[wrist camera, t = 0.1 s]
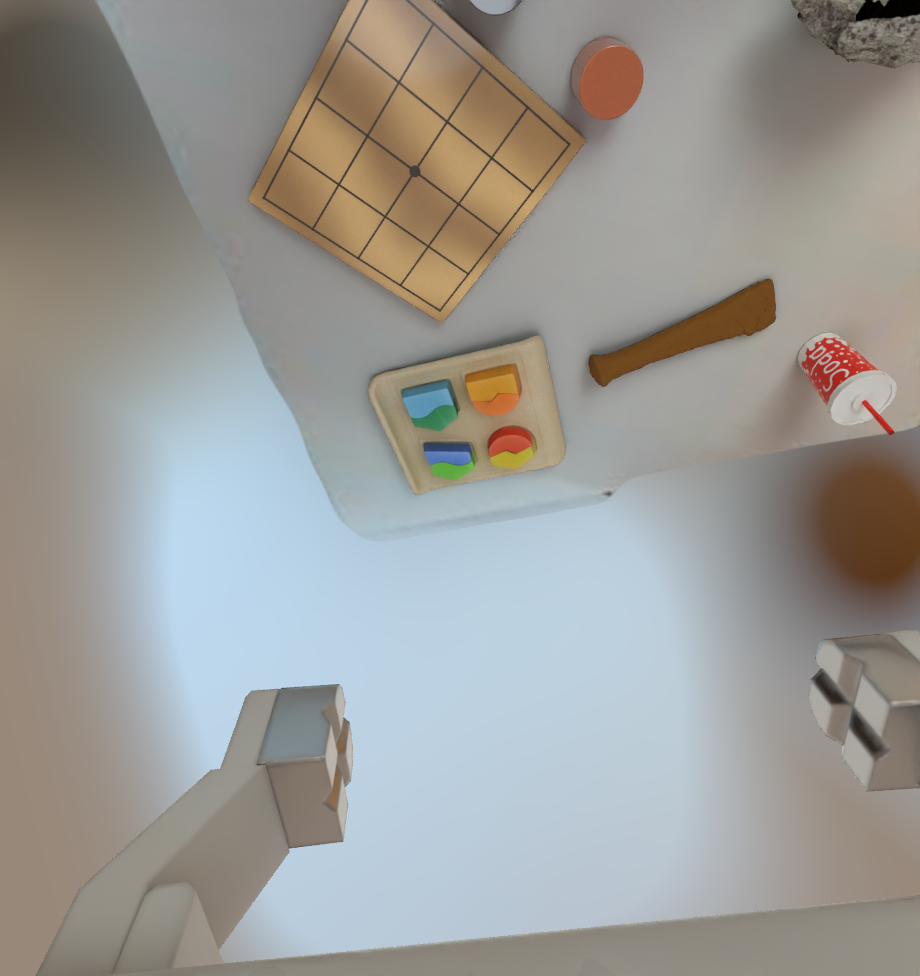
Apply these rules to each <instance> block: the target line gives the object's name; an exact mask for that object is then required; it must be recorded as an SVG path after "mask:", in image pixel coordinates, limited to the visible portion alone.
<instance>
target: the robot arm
mask: <svg viewBox="0 0 920 976" xmlns="http://www.w3.org/2000/svg"><path fill="white" fill-rule="evenodd" d="M815 659H816V660H817V662H818V663H819V664H820V666H821V667H822V668H821V669H820V670H819V671H818V673H817V674H816V675H815V676H814V677H813V678H812V679H811V682H810V689H809V700H810V705H811V711H812V713H813V715H814V718H815V720H816V722H817V724H818V725H819V727H820V728H821V730H822V731H823V732H824V734H825V735H826V736H827V737H829V738H831V739H833V740H834V741H836V742H838V743H839V744H841V745H843V750H842V758H843V760H844V761H845V762H846V764H847V765H848V767H849V768H850V769H851V771H852V772H853V773H854V774H855V776H856V777H857V779H858V780H859V782H860V783H861V784H862V786H863V787H864V788H865V789H866V791H882V790H895V789H911V788H920V632H917V631H915V630H906V631H897V632H888V633H882V634H873V635H863V636H853V637H843V638H834V639H824V640H822V642H821V643H820V644H819V646H818V648H817V653H816V657H815ZM344 709H345V698H344V693H343V689H342V686H341V685H339V684H335V685H320V686H307V687H306V686H305V687H292V688H291V687H290V688H281V689H270V690H257V691H251V692H250V693H249V694H248V695H247V696H246V698H245V701H244V703H243V706H242V709H241V712H240V715H239V717H238V720H237V723H236V726H235V729H234V731H233V734H232V737H231V740H230V743H229V746H228V749H227V751H226V754H225V757H224V760H223V762H222V765H221V768H220V769H215V770H210V771H209V772H208V773H207V774H206V775H205V776H204V777H203V778H202V779H200V780H199V781H198V782H197V783H196V784H195V785H194V786H193V787H192V788H190V789H189V790H188V791H187V792H186V793H185V794H184V795H183V796H182V797H180V798H179V799H178V800H177V801H176V802H175V803H174V804H173V805H172V806H170V807H169V808H168V809H167V810H166V811H165V812H164V813H163V814H162V815H161V816H159V817H158V818H157V819H156V820H155V821H154V822H153V823H152V824H150V825H149V826H148V827H147V828H146V829H145V830H144V831H143V832H142V833H140V835H138V836H137V837H136V838H135V839H134V840H133V841H132V842H131V843H130V844H128V845H127V846H126V847H125V848H124V849H123V850H122V851H121V852H120V853H118V854H117V855H116V856H115V857H114V858H113V859H112V860H111V861H110V862H108V863H107V864H106V865H105V866H104V867H103V868H102V869H101V870H100V871H98V872H97V873H96V874H95V875H94V876H93V877H92V878H91V879H89V880H88V881H87V882H86V883H85V884H84V885H83V886H82V887H81V888H79V890H78V892H77V894H76V896H75V898H74V900H73V902H72V904H71V906H70V908H69V910H68V912H67V914H66V916H65V918H64V920H63V922H62V924H61V926H60V928H59V930H58V932H57V934H56V936H55V938H54V940H53V942H52V944H51V946H50V948H49V950H48V952H47V954H46V956H45V958H44V960H43V962H42V964H41V966H40V968H39V970H38V972H37V974H36V976H920V895H916V896H907V897H896V898H886V899H876V900H866V901H856V902H846V903H836V904H826V905H816V906H806V907H796V908H786V909H776V910H765V911H756V912H745V913H735V914H725V915H714V916H704V917H693V918H684V919H673V920H663V921H653V922H643V923H633V924H622V925H612V926H602V927H591V928H581V929H570V930H560V931H550V932H540V933H530V934H520V935H509V936H499V937H489V938H479V939H469V940H458V941H449V942H438V943H428V944H418V945H408V946H397V947H387V948H377V949H367V950H357V951H347V952H337V953H326V954H316V955H306V956H297V957H286V958H276V959H265V960H255V961H245V962H235V963H223V960H222V958H221V955H220V953H219V949H220V948H221V946H222V945H223V944H224V942H225V941H226V939H227V938H228V937H229V935H230V934H231V932H232V931H233V930H234V928H235V927H236V925H237V924H238V923H239V921H240V920H241V919H242V917H243V916H244V914H245V913H246V912H247V910H248V909H249V907H250V906H251V905H252V903H253V902H254V901H255V899H256V898H257V896H258V895H259V894H260V892H261V891H262V889H263V888H264V887H265V885H266V884H267V882H268V881H269V880H270V878H271V877H272V876H273V874H274V873H275V871H276V870H277V869H278V867H279V866H280V864H281V863H282V861H283V860H284V859H285V857H286V856H287V855H288V853H289V848H296V847H304V846H312V845H320V844H328V843H336V842H343V839H344V831H345V824H346V815H347V809H348V802H347V796H346V791H345V787H346V786H347V785H348V784H349V782H350V781H351V776H352V767H353V744H352V733H351V728H350V722H349V721H347V720H346V719H345V718H344V717H343V716H344Z"/></svg>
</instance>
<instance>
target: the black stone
mask: <svg viewBox="0 0 920 976" xmlns="http://www.w3.org/2000/svg"><path fill="white" fill-rule="evenodd" d="M469 1H470V2H471V3H472V4H473V6H474V7H475V8H477V9H478V10H479V11H481V12H483V13H485V14H489V15H502V14H505V13H507V12H510V11H511V10H513V9H514V8H515V7H517V6H518V5H519V3H520V2H521V1H522V0H469Z"/></svg>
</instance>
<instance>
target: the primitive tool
mask: <svg viewBox="0 0 920 976" xmlns="http://www.w3.org/2000/svg"><path fill="white" fill-rule="evenodd" d="M775 310H776V303H775V292H774V285H773V282H772V280H771V279H767V280H765V281H763V282H757V283H756V284H754V285H751V286H749V287H748V288H746V289H744V290H742V291H741V292H739V293H737V294H735V295H733V296H732V297H730V298H728V299H726V300H724V301H723V302H721V303H719V304H718V305H715V306H713V307H711V308H709V309H707V310H705V311H703V312H701V313H698V314H696V315H695V316H693V317H691V318H689V319H687V320H684V321H682V322H680V323H678V324H676V325H673V326H671V327H669V328H667V329H665V330H663V331H660V332H658V333H656V334H654V335H652V336H650V337H649V338H647V339H645V340H643V341H640V342H638V343H635V344H633V345H630V346H628V347H626V348H623V349H620V350H618V351H616V352H612V353H609V354H605V355H602V356H599V355H591V356H590V358H589V367H590V374H592V377H593V378H594V379H595V381H596V382H597V383H598V384H599V385H601V386H602V387H605V386H607V385H608V383H609V382H611V381H612V380H613V379H616V378H618V377H620V376H621V375H623V374H626V373H629V372H632V371H635V370H637V369H640V368H642V367H644V366H645V365H648V364H650V363H653V362H656V361H659V360H662V359H666V358H670V357H672V356H674V355H676V354H679V353H683V352H686V351H689V350H692V349H694V348H697V347H701V346H704V345H707V344H711V343H714V342H717V341H721V340H724V339H730V338H734V337H736V336H741V335H743V334H746V335H747V336H750V335H752V334H754V333H755V332H757V331H761V330H763V329H765V328H767V327H768V326H769V325H771V324H772V323H773V322H774V321H775V319H776V315H775Z"/></svg>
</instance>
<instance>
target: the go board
mask: <svg viewBox="0 0 920 976" xmlns="http://www.w3.org/2000/svg"><path fill="white" fill-rule="evenodd" d="M585 142H586V140H585V138H584V137H583V136H582V135H581V134H580V133H579V132H578V131H577V130H576V129H574V128H573V127H572V126H571V125H570V124H569V123H568V122H567V121H566V120H565V119H563V118H562V117H561V116H560V115H559V114H558V113H557V112H556V111H555V110H554V109H552V108H551V107H550V106H549V105H548V104H547V103H546V102H545V101H544V100H543V99H541V98H540V97H539V96H538V95H537V94H536V93H535V92H534V91H533V90H532V89H530V88H529V87H528V86H527V85H526V84H525V83H524V82H523V81H522V80H521V79H519V78H518V77H517V76H516V75H515V74H514V73H513V72H512V71H511V70H510V69H508V68H507V67H506V66H505V65H504V64H503V63H502V62H501V61H500V60H499V59H497V58H496V57H495V56H494V55H493V54H492V53H491V52H490V51H489V50H488V49H486V48H485V47H484V46H483V45H482V44H481V43H480V42H479V41H478V40H477V39H475V38H474V37H473V36H472V35H471V34H470V33H469V32H468V31H467V30H466V29H464V28H463V27H462V26H461V25H460V24H459V23H458V22H457V21H456V20H455V19H453V18H452V17H451V16H450V15H449V14H448V13H447V12H446V11H445V10H444V9H442V8H441V7H440V6H439V5H438V4H437V3H436V2H435V1H434V0H349V1H348V2H347V4H346V6H345V8H344V10H343V12H342V14H341V16H340V18H339V20H338V22H337V24H336V26H335V28H334V30H333V32H332V34H331V36H330V38H329V40H328V42H327V44H326V46H325V48H324V50H323V52H322V54H321V56H320V58H319V60H318V62H317V64H316V66H315V67H314V69H313V71H312V73H311V75H310V77H309V79H308V81H307V83H306V85H305V87H304V89H303V91H302V93H301V95H300V97H299V99H298V101H297V103H296V105H295V107H294V109H293V111H292V113H291V115H290V117H289V119H288V121H287V123H286V125H285V127H284V129H283V131H282V133H281V134H280V136H279V138H278V140H277V142H276V144H275V146H274V148H273V150H272V152H271V154H270V156H269V158H268V160H267V162H266V164H265V166H264V168H263V170H262V172H261V174H260V176H259V178H258V180H257V182H256V184H255V186H254V188H253V190H252V192H251V194H250V196H249V198H248V201H249V202H251V203H252V204H254V205H255V206H257V207H259V208H260V209H262V210H263V211H265V212H266V213H268V214H270V215H271V216H273V217H274V218H276V219H278V220H279V221H281V222H282V223H284V224H285V225H287V226H289V227H290V228H292V229H293V230H295V231H297V232H298V233H300V234H301V235H303V236H304V237H306V238H308V239H309V240H311V241H312V242H314V243H316V244H317V245H319V246H320V247H322V248H323V249H325V250H327V251H328V252H330V253H331V254H333V255H335V256H336V257H338V258H339V259H341V260H342V261H344V262H346V263H347V264H349V265H350V266H352V267H354V268H355V269H357V270H358V271H360V272H362V273H363V274H365V275H366V276H368V277H369V278H371V279H373V280H374V281H376V282H377V283H379V284H381V285H382V286H384V287H385V288H387V289H388V290H390V291H392V292H393V293H395V294H396V295H398V296H400V297H401V298H403V299H404V300H406V301H407V302H409V303H411V304H412V305H414V306H415V307H417V308H419V309H420V310H422V311H423V312H425V313H426V314H428V315H430V316H431V317H433V318H434V319H436V320H438V321H439V322H441V323H443V322H444V320H445V319H446V318H447V317H448V315H449V314H450V313H451V312H452V310H453V309H454V308H455V307H456V305H457V304H458V303H459V302H460V300H461V299H462V298H463V296H464V295H465V294H466V293H467V291H468V290H469V289H470V288H471V286H472V285H473V284H474V283H475V281H476V280H477V279H478V278H479V276H480V275H481V274H482V272H483V271H484V270H485V269H486V267H487V266H488V265H489V264H490V262H491V261H492V260H493V259H494V257H495V256H496V255H497V254H498V252H499V251H500V250H501V248H502V247H503V246H504V245H505V243H506V242H507V241H508V240H509V238H510V237H511V236H512V235H513V233H514V232H515V231H516V230H517V228H518V227H519V226H520V224H521V223H522V222H523V221H524V219H525V218H526V217H527V216H528V214H529V213H530V212H531V211H532V209H533V208H534V207H535V205H536V204H537V203H538V202H539V200H540V199H541V198H542V197H543V195H544V194H545V193H546V192H547V190H548V189H549V188H550V187H551V185H552V184H553V183H554V181H555V180H556V179H557V178H558V176H559V175H560V174H561V173H562V171H563V170H564V169H565V168H566V166H567V165H568V164H569V163H570V161H571V160H572V159H573V157H574V156H575V155H576V154H577V152H578V151H579V150H580V149H581V147H582V146H583V145H584V144H585Z"/></svg>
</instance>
